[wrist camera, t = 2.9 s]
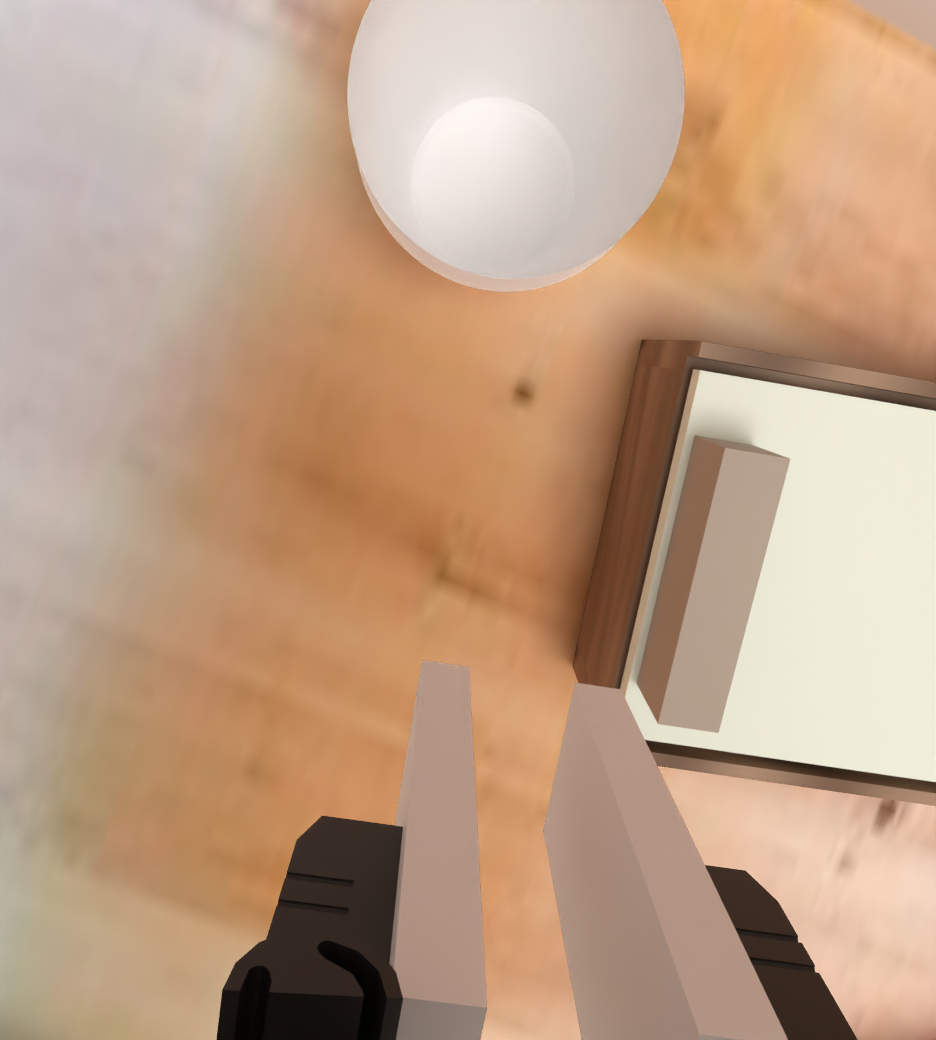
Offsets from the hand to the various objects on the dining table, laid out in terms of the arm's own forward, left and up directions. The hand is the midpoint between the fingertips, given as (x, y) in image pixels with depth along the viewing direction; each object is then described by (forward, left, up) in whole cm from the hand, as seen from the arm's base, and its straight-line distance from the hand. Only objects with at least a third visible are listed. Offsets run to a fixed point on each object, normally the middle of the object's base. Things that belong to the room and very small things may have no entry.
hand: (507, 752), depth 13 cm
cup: (-1, +12, -23) cm, 26 cm away
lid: (+14, 0, -15) cm, 21 cm away
